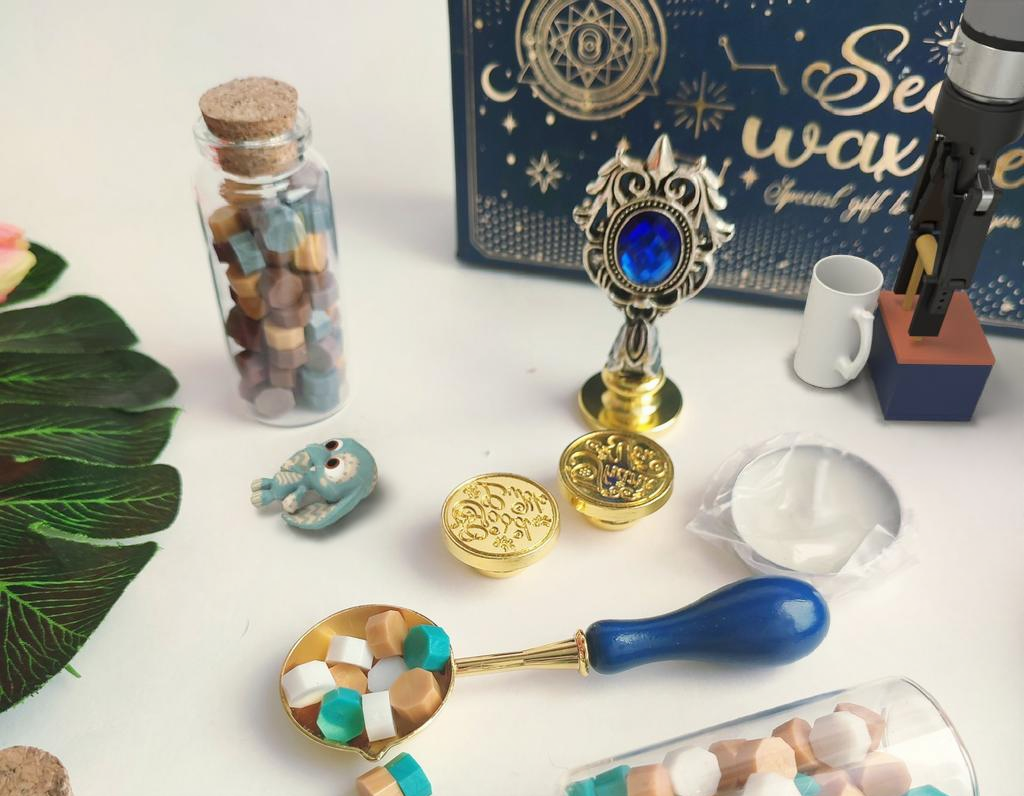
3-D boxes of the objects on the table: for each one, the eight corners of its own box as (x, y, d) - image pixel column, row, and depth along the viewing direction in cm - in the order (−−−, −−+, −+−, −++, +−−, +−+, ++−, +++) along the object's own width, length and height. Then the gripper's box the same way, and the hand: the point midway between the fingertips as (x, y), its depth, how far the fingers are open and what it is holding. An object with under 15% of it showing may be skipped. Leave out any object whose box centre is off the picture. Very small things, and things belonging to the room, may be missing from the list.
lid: (898, 364, 104) (923, 286, 97) (875, 295, 111) (897, 219, 104) (993, 365, 103) (1026, 287, 97) (964, 297, 111) (992, 220, 104)
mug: (780, 354, 116) (802, 259, 107) (838, 345, 117) (865, 250, 108) (818, 415, 109) (845, 319, 101) (879, 405, 110) (911, 310, 102)
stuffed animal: (235, 424, 101) (359, 393, 100) (263, 476, 106) (380, 446, 105) (232, 507, 93) (366, 473, 93) (262, 558, 99) (389, 526, 98)
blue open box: (884, 420, 109) (903, 364, 104) (863, 351, 116) (880, 296, 111) (970, 421, 109) (993, 366, 103) (943, 352, 116) (964, 297, 111)
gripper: (918, 34, 95) (858, 256, 112) (975, 141, 82) (897, 374, 99) (1004, 34, 95) (930, 258, 112) (1074, 142, 82) (979, 376, 99)
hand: (915, 312), depth 106 cm, fingers closed on lid, 6 cm apart
